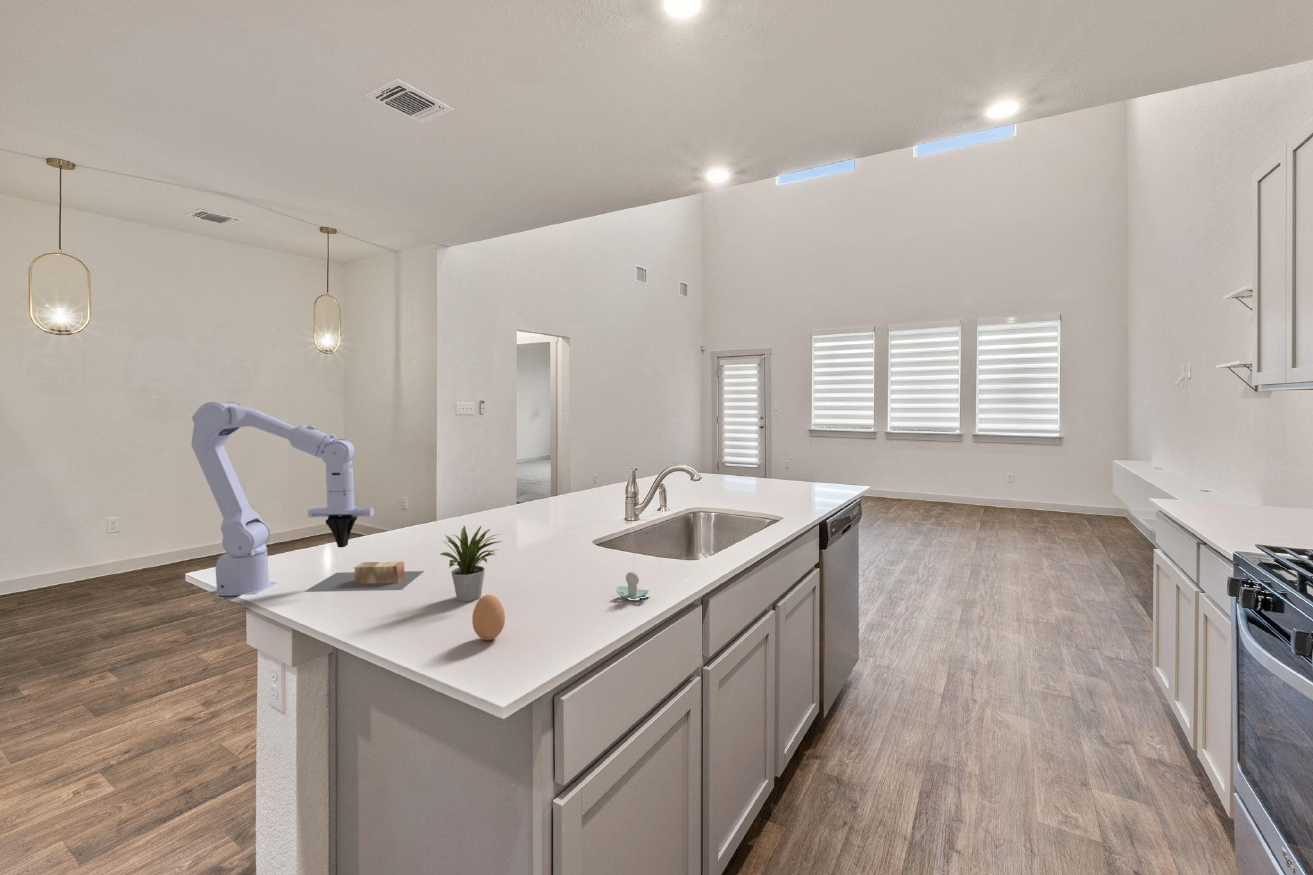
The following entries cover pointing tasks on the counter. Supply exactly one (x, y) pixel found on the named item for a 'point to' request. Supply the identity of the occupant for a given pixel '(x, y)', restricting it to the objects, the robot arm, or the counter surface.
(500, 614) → the egg
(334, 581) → the rubber mat
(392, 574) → the long block
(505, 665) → the counter surface
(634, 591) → the pacifier
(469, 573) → the house plant
